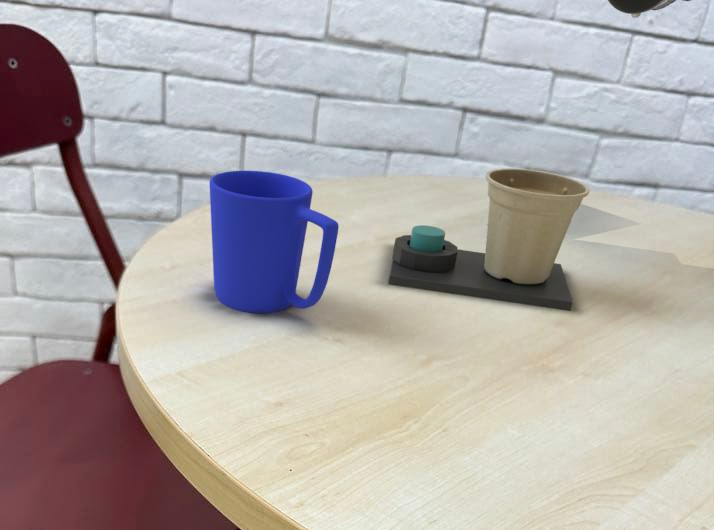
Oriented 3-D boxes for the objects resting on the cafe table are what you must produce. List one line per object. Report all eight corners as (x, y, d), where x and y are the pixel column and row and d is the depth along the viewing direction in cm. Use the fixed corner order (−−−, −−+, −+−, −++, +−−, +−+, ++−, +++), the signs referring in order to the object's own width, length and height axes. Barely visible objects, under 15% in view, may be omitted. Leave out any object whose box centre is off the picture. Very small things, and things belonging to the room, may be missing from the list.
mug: (287, 348, 67) (299, 218, 61) (186, 299, 73) (187, 177, 67) (354, 325, 72) (370, 203, 66) (254, 281, 78) (261, 165, 72)
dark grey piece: (557, 277, 87) (565, 248, 86) (568, 316, 78) (578, 285, 77) (393, 253, 88) (398, 224, 86) (386, 290, 79) (391, 258, 78)
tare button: (442, 246, 83) (445, 227, 82) (441, 256, 81) (445, 237, 80) (410, 241, 83) (413, 223, 82) (408, 251, 81) (411, 232, 80)
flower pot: (446, 265, 82) (465, 171, 77) (506, 252, 88) (527, 163, 83) (523, 298, 77) (548, 200, 72) (582, 282, 82) (609, 189, 77)
